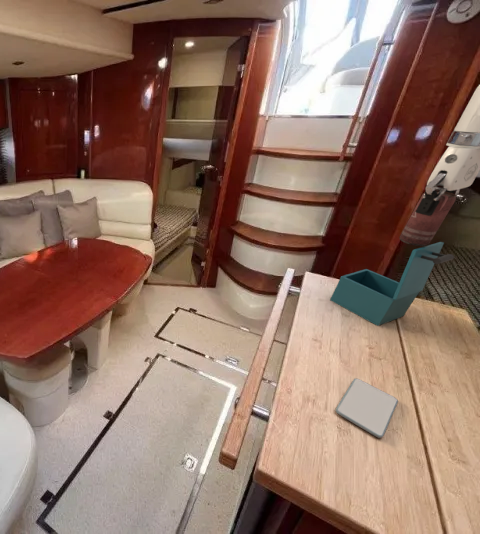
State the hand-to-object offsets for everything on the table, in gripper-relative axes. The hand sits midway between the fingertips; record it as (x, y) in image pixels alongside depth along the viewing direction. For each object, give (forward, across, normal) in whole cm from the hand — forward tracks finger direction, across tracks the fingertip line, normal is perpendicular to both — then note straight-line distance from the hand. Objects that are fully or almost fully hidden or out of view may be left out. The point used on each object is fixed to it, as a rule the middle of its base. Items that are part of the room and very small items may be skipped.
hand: (431, 211), depth 81 cm
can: (+9, 0, 0) cm, 9 cm away
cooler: (+35, +2, +3) cm, 35 cm away
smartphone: (+35, -38, -21) cm, 56 cm away
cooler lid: (+17, +2, -3) cm, 18 cm away
